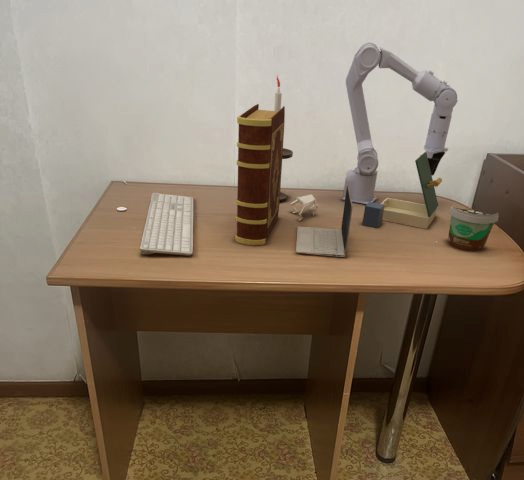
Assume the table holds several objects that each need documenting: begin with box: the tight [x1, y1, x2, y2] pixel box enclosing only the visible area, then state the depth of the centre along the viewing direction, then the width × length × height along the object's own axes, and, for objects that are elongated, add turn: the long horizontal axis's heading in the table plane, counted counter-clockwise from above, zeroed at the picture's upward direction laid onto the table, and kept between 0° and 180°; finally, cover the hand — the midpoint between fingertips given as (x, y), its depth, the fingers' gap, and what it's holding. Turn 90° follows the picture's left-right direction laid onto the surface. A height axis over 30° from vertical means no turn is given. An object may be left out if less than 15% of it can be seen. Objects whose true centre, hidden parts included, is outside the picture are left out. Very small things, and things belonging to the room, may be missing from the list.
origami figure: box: [289, 193, 319, 222], centre depth 152 cm, size 12×8×5 cm
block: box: [361, 202, 385, 228], centre depth 149 cm, size 4×4×6 cm
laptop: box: [295, 185, 353, 258], centre depth 133 cm, size 18×12×13 cm
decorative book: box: [234, 103, 286, 246], centre depth 134 cm, size 22×8×30 cm, turn 168°
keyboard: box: [139, 192, 194, 257], centre depth 142 cm, size 44×12×2 cm, turn 6°
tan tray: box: [380, 197, 438, 230], centre depth 155 cm, size 16×12×3 cm
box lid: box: [414, 151, 443, 217], centre depth 148 cm, size 16×12×4 cm
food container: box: [447, 203, 499, 252], centre depth 135 cm, size 12×6×10 cm, turn 62°
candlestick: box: [273, 74, 294, 203], centre depth 157 cm, size 11×11×35 cm
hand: (427, 177), depth 162 cm, fingers open, 7 cm apart
